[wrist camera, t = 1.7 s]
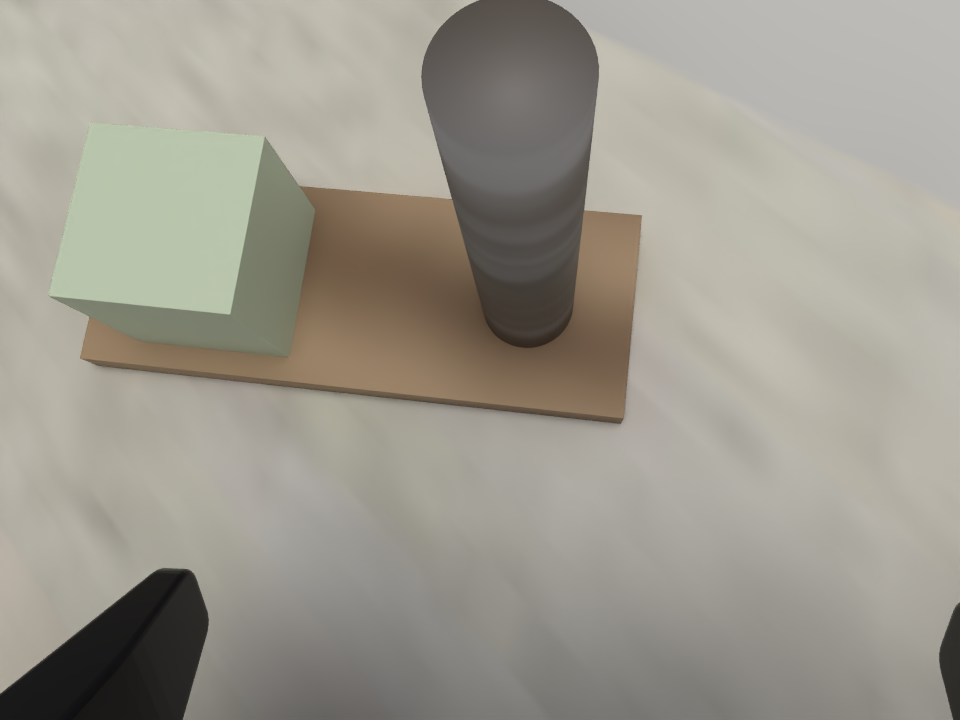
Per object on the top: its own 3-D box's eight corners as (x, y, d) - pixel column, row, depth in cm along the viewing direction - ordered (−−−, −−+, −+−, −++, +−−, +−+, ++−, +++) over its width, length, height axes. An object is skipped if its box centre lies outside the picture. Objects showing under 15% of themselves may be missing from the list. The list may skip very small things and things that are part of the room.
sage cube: (289, 357, 24) (230, 314, 20) (139, 341, 24) (47, 295, 20) (315, 209, 25) (264, 135, 20) (170, 196, 25) (90, 122, 21)
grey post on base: (620, 423, 24) (704, 286, 11) (97, 365, 25) (-346, 189, 13) (638, 228, 25) (731, -95, 12) (138, 184, 27) (-229, -139, 14)
